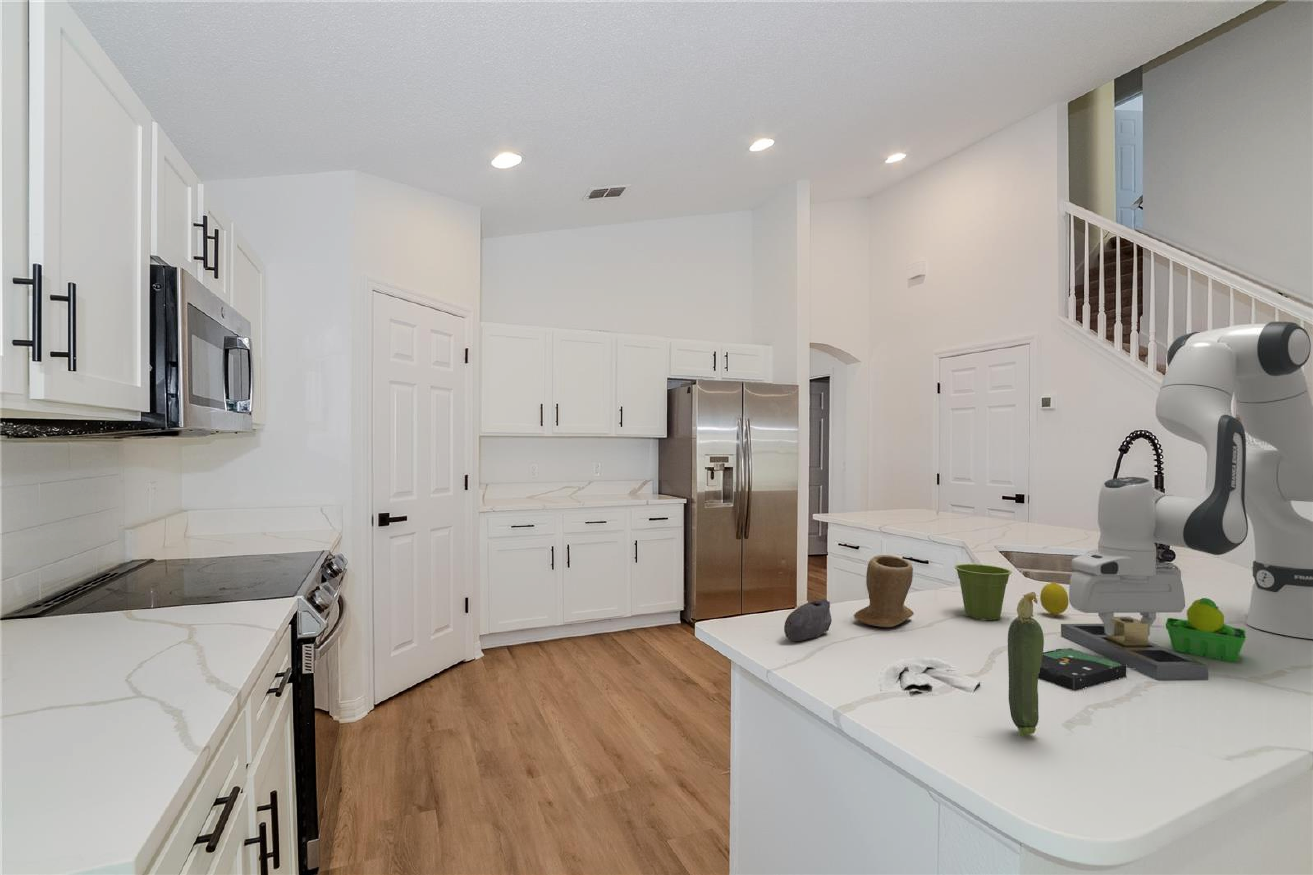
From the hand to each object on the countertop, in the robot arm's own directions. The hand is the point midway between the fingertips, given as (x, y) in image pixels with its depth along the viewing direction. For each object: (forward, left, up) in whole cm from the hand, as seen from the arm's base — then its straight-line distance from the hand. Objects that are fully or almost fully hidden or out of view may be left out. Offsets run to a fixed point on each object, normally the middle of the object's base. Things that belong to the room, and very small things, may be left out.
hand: (1127, 635), depth 117 cm
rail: (0, 0, -4) cm, 4 cm away
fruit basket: (-16, -1, -4) cm, 16 cm away
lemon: (-4, -27, -4) cm, 27 cm away
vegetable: (+39, +30, -4) cm, 50 cm away
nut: (0, 0, -2) cm, 2 cm away
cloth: (+44, +11, -5) cm, 46 cm away
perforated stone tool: (+58, -13, -4) cm, 60 cm away
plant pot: (+13, -27, -4) cm, 30 cm away
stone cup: (+37, -23, -4) cm, 44 cm away
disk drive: (+17, +9, -5) cm, 20 cm away
